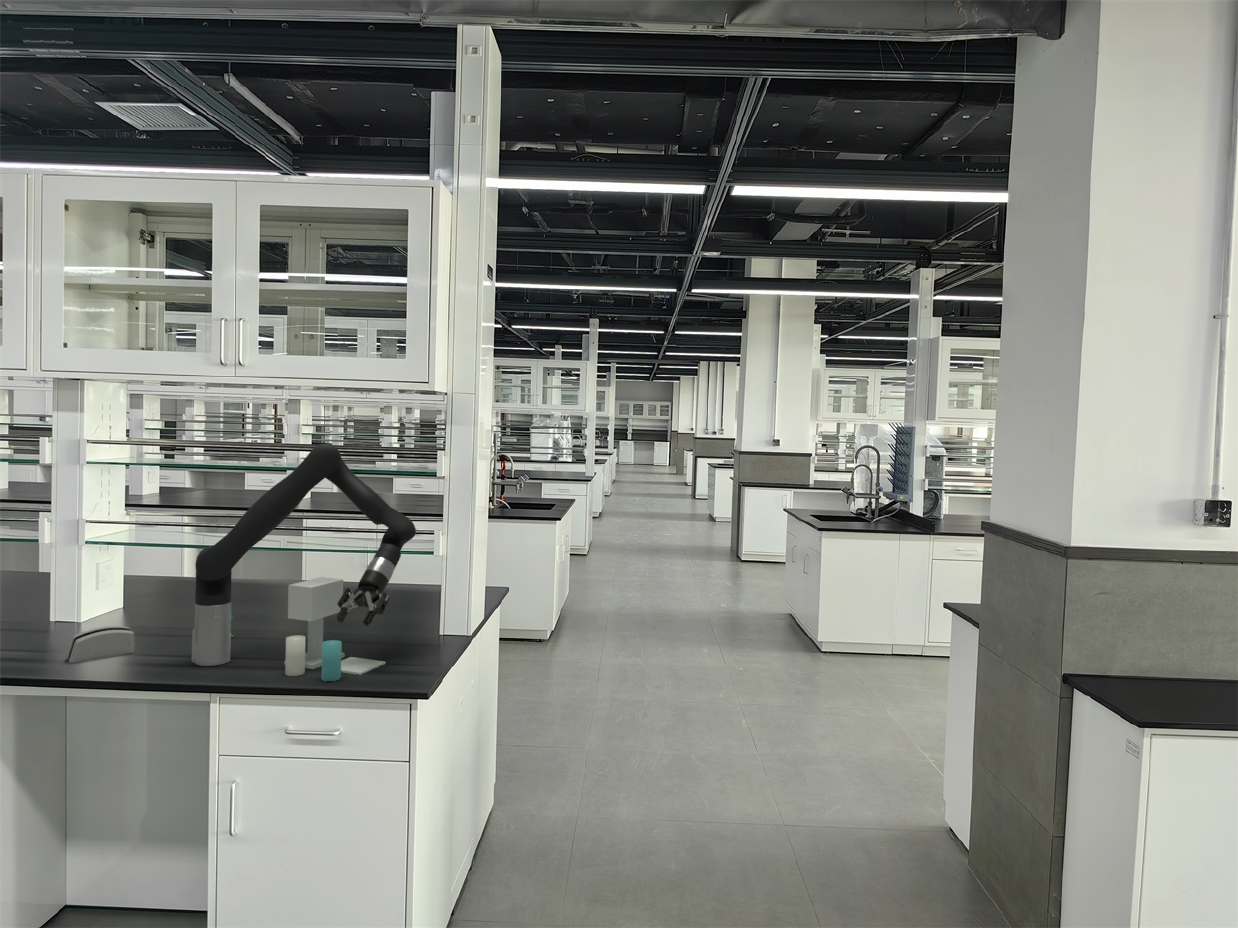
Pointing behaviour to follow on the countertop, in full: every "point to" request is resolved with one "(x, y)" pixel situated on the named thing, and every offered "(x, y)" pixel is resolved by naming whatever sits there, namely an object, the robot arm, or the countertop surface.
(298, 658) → the cream part
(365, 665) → the mat
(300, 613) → the mounted unit
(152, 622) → the countertop surface
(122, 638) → the grey curved piece
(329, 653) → the teal part
